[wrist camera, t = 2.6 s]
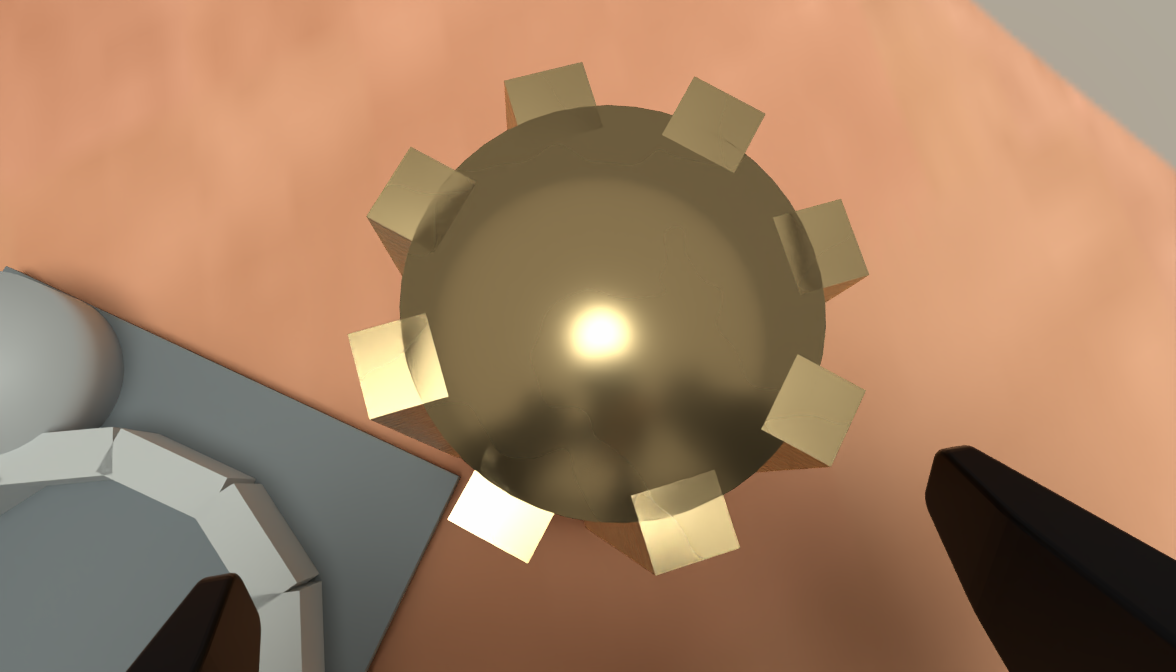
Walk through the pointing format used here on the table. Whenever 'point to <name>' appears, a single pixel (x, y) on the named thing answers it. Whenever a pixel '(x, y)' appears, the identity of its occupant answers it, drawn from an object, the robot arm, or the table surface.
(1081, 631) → the robot arm
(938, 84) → the table surface
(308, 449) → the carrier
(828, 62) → the table surface
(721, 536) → the pinion gear
